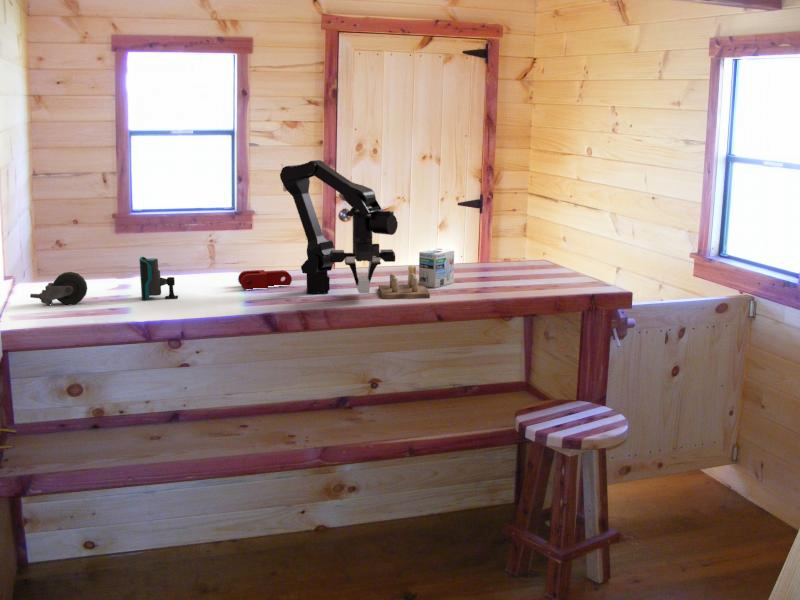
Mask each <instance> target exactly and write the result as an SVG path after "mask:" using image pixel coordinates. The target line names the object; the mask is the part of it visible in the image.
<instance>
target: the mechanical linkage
mask: <svg viewBox="0 0 800 600" xmlns="http://www.w3.org/2000/svg"><path fill="white" fill-rule="evenodd" d="M282 278H285V279H284V280H282ZM237 279H238V283H239V284H240V286H241V287H242V289H243V290H245V289H253V288H268V286H274V285H289V286H290V285H291V284H292V281H293V278H292V275H291V274H290V273H289V272H288V271H287V270H282V269H281V270H267V271H265V270H264V269H257V270H256V269H253V270H243V271H241V272H240V273H239V274H238V278H237ZM268 289H269V288H268Z"/></svg>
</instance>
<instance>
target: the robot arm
mask: <svg viewBox="0 0 800 600" xmlns="http://www.w3.org/2000/svg"><path fill="white" fill-rule="evenodd" d="M313 177H315V178H317V179H319V180H320V181H322V182H323V183H324V184H326V185H327V186H329V187H330V188H332V189H334V190H335V191H336V192H338V193H339V194H340V195H341V196H343V199H344V201H345V202H346V203H347V204H348V205H349V206H350V207H351V208H350V209H349V210H348V212H346V213H345V216H347V217H352V252H345V250H344V249H336V248H335V246H334V242H333V240H331V239H330V240H327V239H326V238H325V237H324V233H323V231H322V228H321V225H320V221H319V219H318V216H317V213H316V210H315V207H314V205H313V201H312V199H311V195H310V192H309V191H310V190H309V189H310V184H311V181H310V178H313ZM279 178H280V181H281V183H282V185H283V187H284V189H285V190H286V191H287V192H288V193H289V194H290V196H292V197H293V201H294V205H295V207H296V211H297V214H298V216H299V219H300V222H301V225H302V228H303V231H304V234H305V237H306V240H307V247H306V256H307V259H306V260H305V261H304V262H303V263H302V264H301V266H300V268H301V272H302V274H304V275H305V274H306V289H305V290H306V294H309V295H311V294H316V295H317V294H329V291H330V289H331V288H330V284H331V283H330V279H331V278H330V275H329V274H328V272H329V271H332V269H333V265H334V264H335V263H343V262H344V264H345V266H349V268H350V270H351V273H352V276H353V279H354V282H355V285H358V278H357V273H358V272H357V264H356V263H357V262H364V261H365V262H368V269H367V276H368V279H369V285H370V284H371V281H372V277H373V275H374V272H375V269H376V268H377V266H378V265H379V266H380V265H381V264H382V263H381V260H382V261H384V262H385V263H386V262H388V263H390V262H393V263H394V262H396V253H395V251H394V250H393V249H380V243H373V234H379V235H381V234H382V235H388V236H389V235H390V236H392V235H395V234H396V232H397V229H398V226H399V225H398V221H397V217H396V216H395V215H394V211H393V210H384V209H383V208H382V206H381V204H380V202H379V201H378V199H377V197H376V193H375V191H374V190H373V189H372V188H369V187H367V186H365V185H364V184H363V185H362V184H359V183H355V182H352V181H351V180H350V179H348V178H346V177H345V176H344V175H342V174H340V172H337V171H336V170H335V169H333V168H332V167H330V166H328V165H327V164H325V162H324V161H323V160H321V159H317V160H310V161H308V162H305V163H303V164H302V163H301V164H296V165H295V164H293V165H286V166H284V167H283V168H282V169H281V171H280V173H279Z"/></svg>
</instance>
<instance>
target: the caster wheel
mask: <svg viewBox="0 0 800 600" xmlns="http://www.w3.org/2000/svg"><path fill="white" fill-rule="evenodd" d="M44 288H45V289H42V291H41V292H39V293H30V298H33V299H39V300H40V302H41V303H42V304H45V306H46V307H50V306H51V305H52V304H53V301H54V300H57V301H58V302H60V303H61V304H64V305H67V304H72V305H76V304H78V303H80V302H82V301H83V299H84V298H85V296H87V291H88V284H87V281H86V280H85V278H84V276H82V275H80V274H79V273H77V272H73V271H67V272H63V273H61V274H60V275H58V276H57V277H56V278H55V279H54V281H53V282H48V284H47V285H45V287H44ZM51 303H52V304H51ZM50 304H51V305H50Z"/></svg>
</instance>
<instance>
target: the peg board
mask: <svg viewBox="0 0 800 600" xmlns="http://www.w3.org/2000/svg"><path fill="white" fill-rule="evenodd" d="M378 291H379V293H380V296H381V297H382V299H431V298H430V297H431V293H430V291H429V290H428V289H427V286H424V285H419V277H416V278H415V274H409V285H408V284H399V278H398V277H397V275H396V273H390V274H389V284H379V285H378Z"/></svg>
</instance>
